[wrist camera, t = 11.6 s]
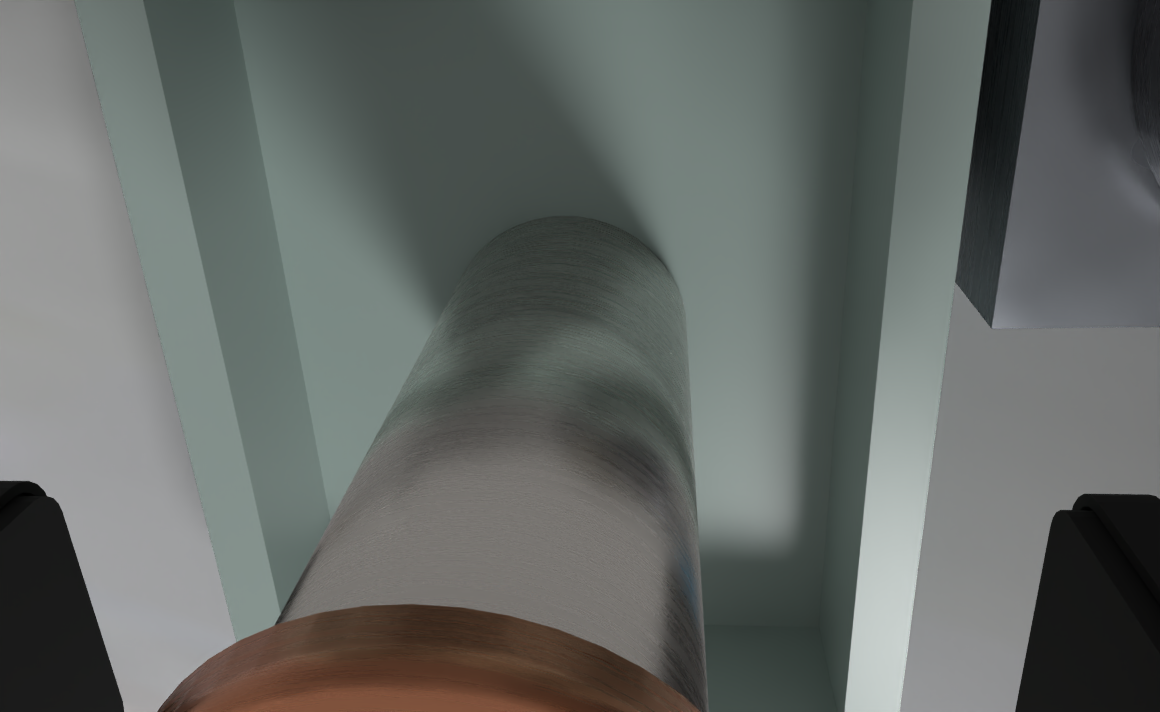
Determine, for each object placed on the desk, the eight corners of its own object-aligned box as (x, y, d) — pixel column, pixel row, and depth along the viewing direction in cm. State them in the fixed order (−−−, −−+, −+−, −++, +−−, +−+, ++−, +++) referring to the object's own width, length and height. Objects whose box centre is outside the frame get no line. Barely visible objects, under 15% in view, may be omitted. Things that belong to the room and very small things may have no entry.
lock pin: (711, 453, 15) (781, 1233, 6) (441, 453, 16) (147, 1188, 7) (716, 185, 14) (821, 752, 4) (409, 192, 14) (-57, 726, 5)
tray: (855, 639, 17) (891, 774, 15) (323, 630, 18) (265, 755, 16) (935, -171, 12) (1016, -191, 9) (169, -128, 13) (40, -136, 10)
